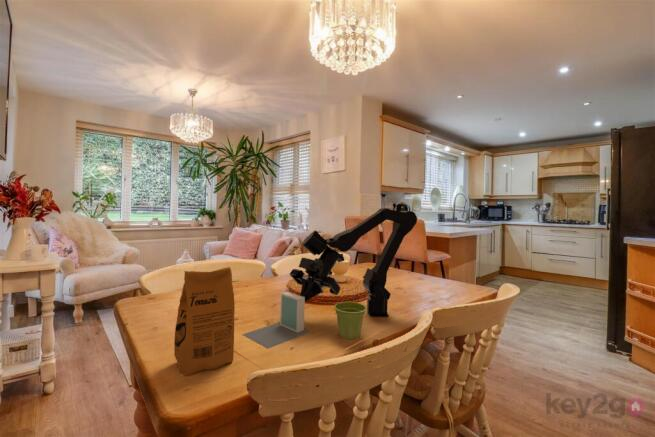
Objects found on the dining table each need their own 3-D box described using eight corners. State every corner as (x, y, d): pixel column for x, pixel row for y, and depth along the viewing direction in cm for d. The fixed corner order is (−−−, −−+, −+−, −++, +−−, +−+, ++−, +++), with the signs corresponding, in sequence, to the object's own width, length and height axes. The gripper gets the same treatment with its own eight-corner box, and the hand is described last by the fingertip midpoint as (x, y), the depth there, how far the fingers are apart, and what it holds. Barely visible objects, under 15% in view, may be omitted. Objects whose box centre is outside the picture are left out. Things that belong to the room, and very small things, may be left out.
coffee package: (171, 360, 71) (173, 267, 70) (225, 347, 78) (226, 263, 78) (178, 380, 63) (180, 276, 62) (237, 364, 70) (239, 270, 69)
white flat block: (286, 322, 95) (287, 291, 95) (303, 330, 90) (304, 297, 90) (279, 325, 93) (280, 293, 93) (297, 332, 88) (298, 298, 88)
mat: (285, 321, 98) (285, 320, 98) (311, 332, 90) (311, 331, 90) (242, 335, 86) (242, 334, 86) (267, 349, 78) (267, 348, 78)
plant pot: (356, 346, 82) (357, 314, 81) (327, 337, 87) (328, 307, 86) (370, 334, 89) (371, 305, 89) (343, 327, 94) (344, 299, 94)
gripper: (294, 245, 104) (267, 282, 96) (335, 252, 91) (308, 294, 83) (310, 265, 110) (285, 301, 102) (350, 274, 97) (326, 316, 89)
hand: (299, 303), depth 94 cm, fingers closed
